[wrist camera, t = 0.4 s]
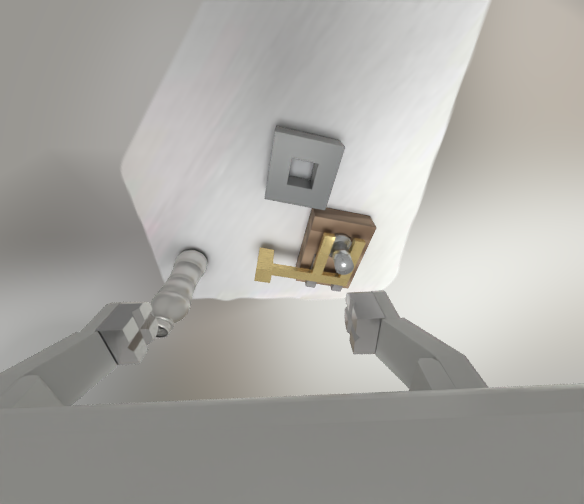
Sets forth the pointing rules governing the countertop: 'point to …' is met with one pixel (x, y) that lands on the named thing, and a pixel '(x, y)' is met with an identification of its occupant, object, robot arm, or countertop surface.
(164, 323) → the plastic bottle
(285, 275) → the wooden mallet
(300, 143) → the grey square holed piece
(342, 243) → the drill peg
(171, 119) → the countertop surface
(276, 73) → the countertop surface
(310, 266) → the socket block
